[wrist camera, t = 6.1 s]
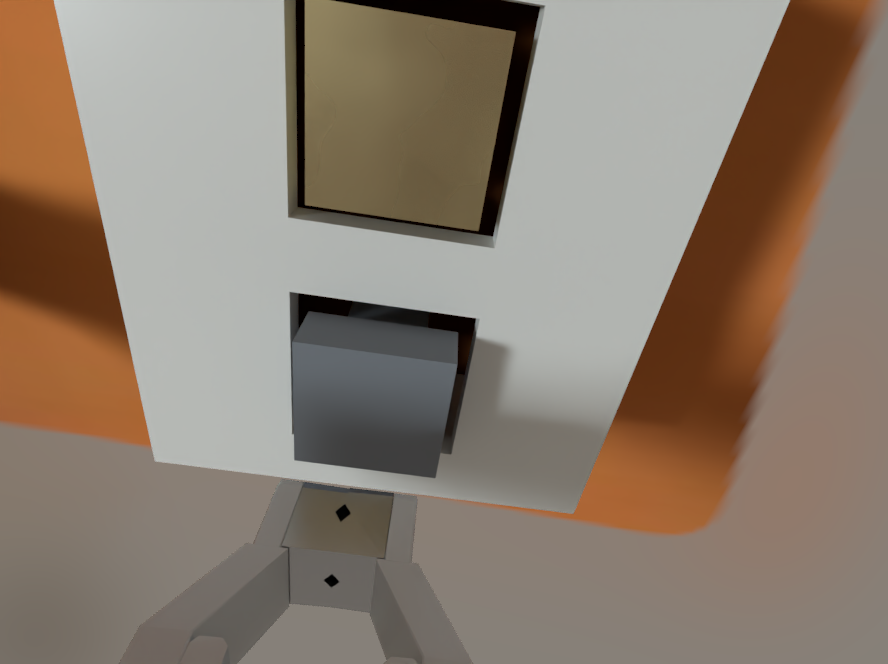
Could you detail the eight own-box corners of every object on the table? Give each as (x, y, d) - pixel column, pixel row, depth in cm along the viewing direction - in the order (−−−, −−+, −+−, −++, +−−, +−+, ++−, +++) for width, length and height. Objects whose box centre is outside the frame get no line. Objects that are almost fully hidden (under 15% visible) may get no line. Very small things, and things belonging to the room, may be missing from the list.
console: (179, -138, 13) (1, -239, 8) (693, -46, 14) (826, -86, 9) (228, 357, 22) (154, 461, 16) (548, 401, 22) (573, 513, 17)
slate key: (333, 264, 16) (292, 341, 12) (459, 283, 16) (457, 364, 12) (330, 367, 18) (294, 460, 14) (441, 382, 18) (435, 478, 14)
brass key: (351, 4, 13) (304, -5, 9) (500, 29, 13) (516, 31, 10) (344, 159, 15) (305, 204, 11) (474, 179, 15) (478, 231, 12)
